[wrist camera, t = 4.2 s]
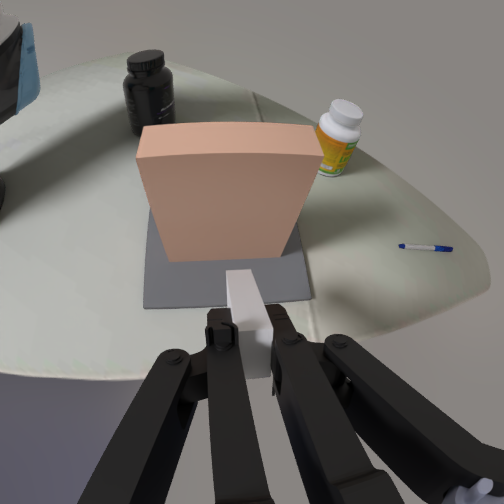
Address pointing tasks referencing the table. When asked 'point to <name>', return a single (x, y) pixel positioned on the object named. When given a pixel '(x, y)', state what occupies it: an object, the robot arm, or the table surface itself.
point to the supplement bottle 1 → (148, 91)
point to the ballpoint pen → (426, 247)
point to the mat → (220, 276)
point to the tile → (227, 186)
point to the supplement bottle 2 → (338, 135)
